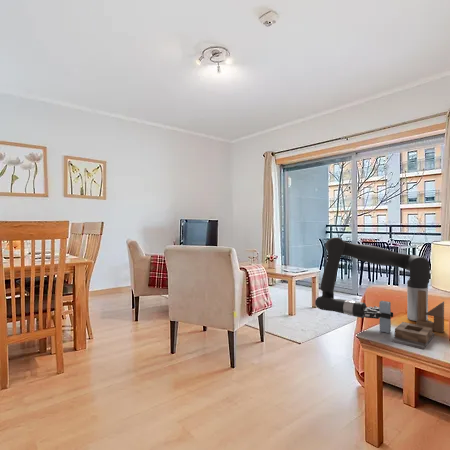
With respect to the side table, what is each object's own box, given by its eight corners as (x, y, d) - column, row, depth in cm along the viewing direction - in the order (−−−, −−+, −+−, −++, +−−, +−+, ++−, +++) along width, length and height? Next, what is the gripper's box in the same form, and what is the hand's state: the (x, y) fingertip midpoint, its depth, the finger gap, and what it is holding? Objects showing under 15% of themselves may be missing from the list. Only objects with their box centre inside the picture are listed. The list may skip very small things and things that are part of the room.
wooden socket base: (405, 328, 154) (405, 319, 153) (434, 335, 145) (434, 325, 145) (392, 341, 139) (392, 331, 139) (423, 349, 131) (423, 338, 131)
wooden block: (442, 333, 147) (442, 294, 147) (416, 327, 155) (416, 291, 154) (444, 330, 150) (444, 293, 149) (418, 325, 158) (418, 289, 157)
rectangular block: (381, 329, 153) (381, 300, 152) (390, 331, 150) (390, 302, 150) (379, 331, 151) (379, 302, 150) (388, 333, 148) (388, 303, 148)
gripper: (348, 304, 155) (386, 311, 143) (360, 298, 165) (396, 304, 153) (349, 319, 155) (387, 327, 143) (360, 312, 165) (396, 319, 153)
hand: (391, 315), depth 148 cm, fingers closed on rectangular block, 3 cm apart
